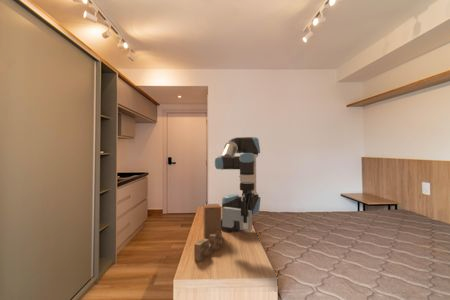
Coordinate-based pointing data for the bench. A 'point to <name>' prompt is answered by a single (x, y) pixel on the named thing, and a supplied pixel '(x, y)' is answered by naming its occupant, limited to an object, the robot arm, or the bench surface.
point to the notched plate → (234, 217)
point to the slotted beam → (207, 246)
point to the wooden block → (211, 219)
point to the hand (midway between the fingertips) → (247, 227)
